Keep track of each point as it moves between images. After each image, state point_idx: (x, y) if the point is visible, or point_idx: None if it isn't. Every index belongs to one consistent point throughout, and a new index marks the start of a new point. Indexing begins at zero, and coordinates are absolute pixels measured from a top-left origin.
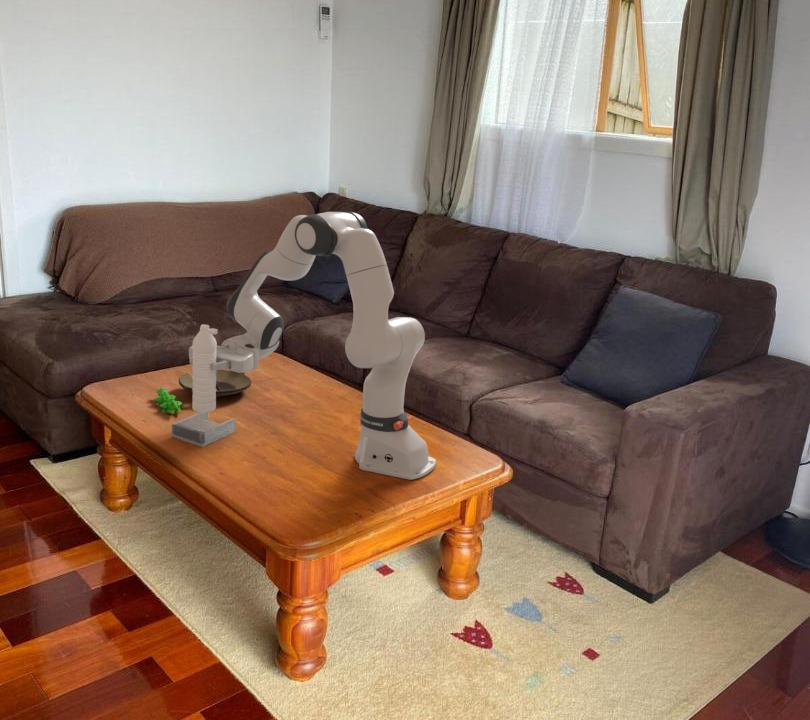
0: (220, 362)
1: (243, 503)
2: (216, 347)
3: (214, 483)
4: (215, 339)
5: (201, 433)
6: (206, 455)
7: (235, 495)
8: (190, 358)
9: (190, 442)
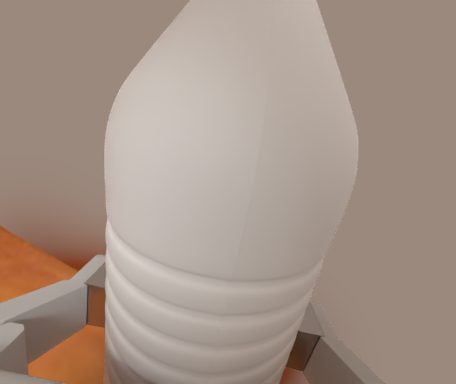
0: (48, 296)
1: (3, 236)
2: (106, 190)
3: (58, 266)
4: (130, 83)
5: None
6: (95, 353)
7: (16, 248)
8: (316, 303)
9: None
